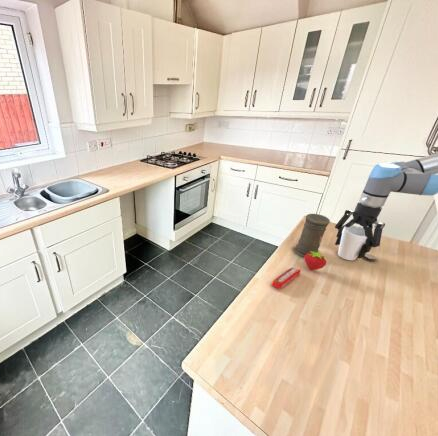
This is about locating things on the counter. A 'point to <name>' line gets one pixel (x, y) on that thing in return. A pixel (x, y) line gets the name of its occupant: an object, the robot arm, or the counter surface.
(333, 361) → the counter surface
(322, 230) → the container
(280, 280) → the candy bar
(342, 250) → the foam cup
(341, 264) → the counter surface
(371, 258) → the puck
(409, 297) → the counter surface
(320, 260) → the strawberry
